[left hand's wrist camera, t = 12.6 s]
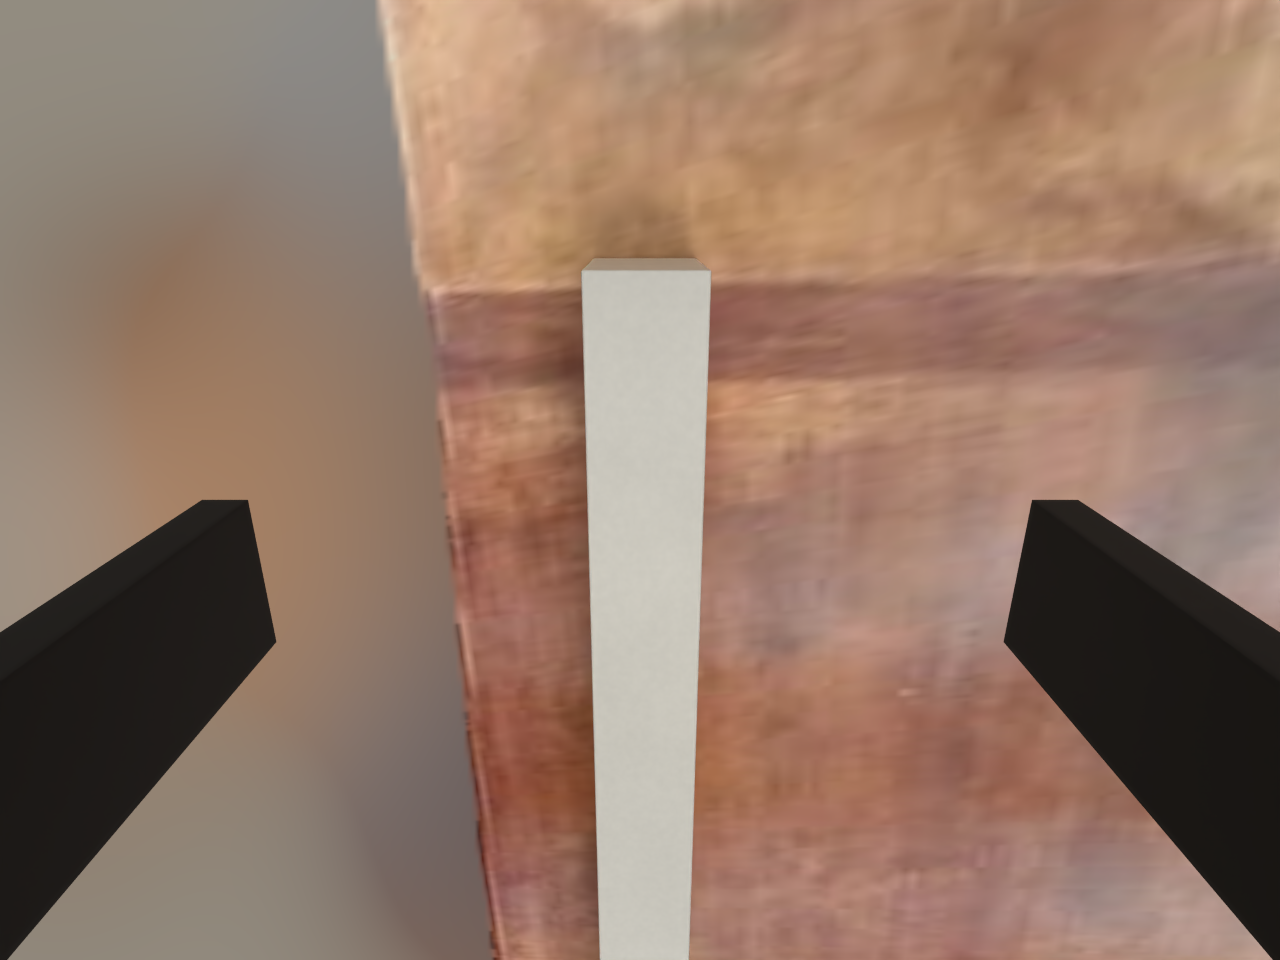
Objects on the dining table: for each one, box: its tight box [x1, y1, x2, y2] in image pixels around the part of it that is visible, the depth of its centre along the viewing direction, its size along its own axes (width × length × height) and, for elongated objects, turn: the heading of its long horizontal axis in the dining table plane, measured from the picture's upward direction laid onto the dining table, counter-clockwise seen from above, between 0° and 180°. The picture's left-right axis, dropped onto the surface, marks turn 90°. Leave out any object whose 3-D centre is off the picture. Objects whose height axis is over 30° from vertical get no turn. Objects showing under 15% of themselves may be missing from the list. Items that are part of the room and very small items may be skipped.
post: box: [581, 258, 711, 960], centre depth 45 cm, size 76×5×8 cm, turn 0°
